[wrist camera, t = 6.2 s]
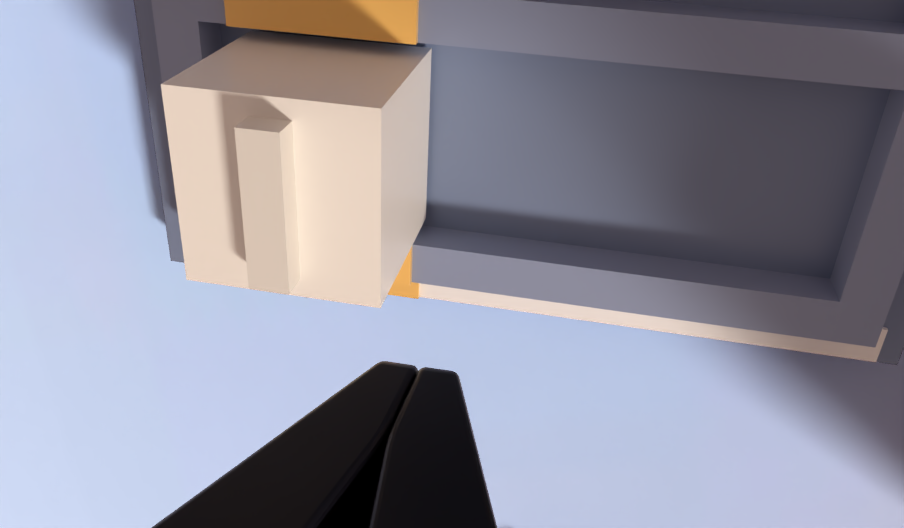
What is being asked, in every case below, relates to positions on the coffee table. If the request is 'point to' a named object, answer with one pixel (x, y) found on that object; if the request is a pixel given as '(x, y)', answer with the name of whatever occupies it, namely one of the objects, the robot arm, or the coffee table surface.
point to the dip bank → (632, 156)
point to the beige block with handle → (301, 164)
